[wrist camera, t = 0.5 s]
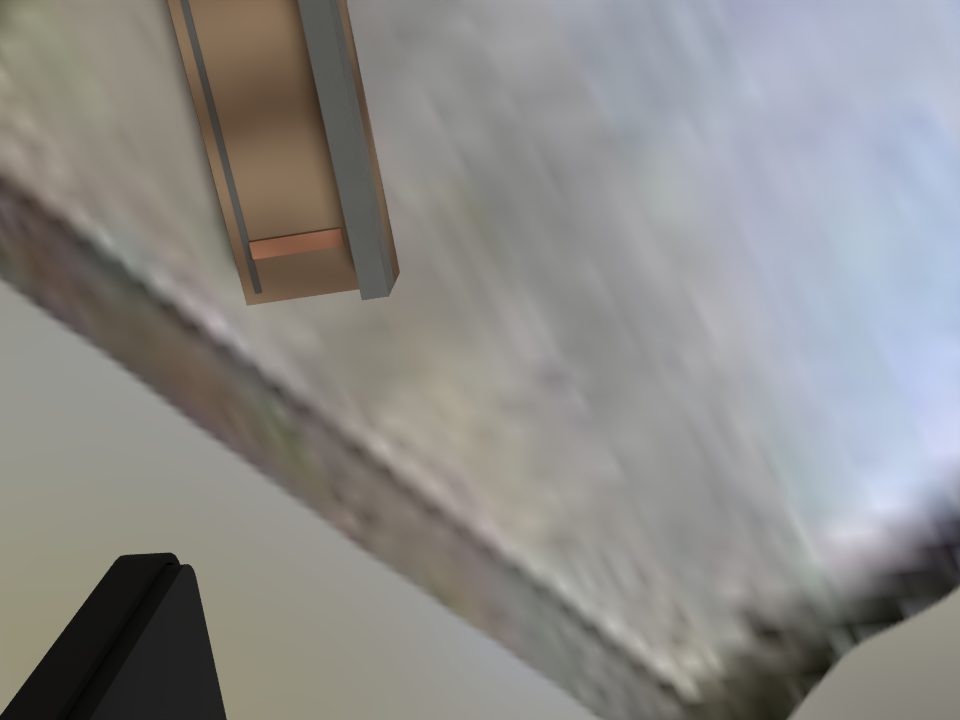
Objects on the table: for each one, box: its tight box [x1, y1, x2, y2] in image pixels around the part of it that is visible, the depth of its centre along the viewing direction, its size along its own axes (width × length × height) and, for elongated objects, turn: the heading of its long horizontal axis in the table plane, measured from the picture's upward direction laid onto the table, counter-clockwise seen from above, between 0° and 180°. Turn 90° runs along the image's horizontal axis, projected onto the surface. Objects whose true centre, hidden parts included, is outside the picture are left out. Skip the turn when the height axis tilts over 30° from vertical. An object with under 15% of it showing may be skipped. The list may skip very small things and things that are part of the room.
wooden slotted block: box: [167, 0, 400, 306], centre depth 39 cm, size 18×7×4 cm, turn 9°
